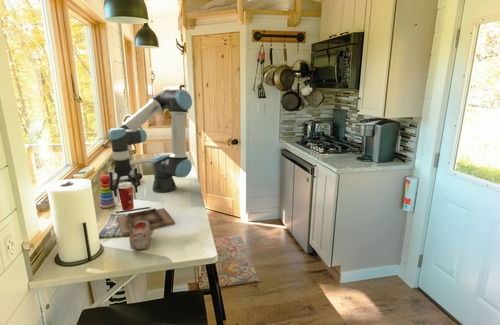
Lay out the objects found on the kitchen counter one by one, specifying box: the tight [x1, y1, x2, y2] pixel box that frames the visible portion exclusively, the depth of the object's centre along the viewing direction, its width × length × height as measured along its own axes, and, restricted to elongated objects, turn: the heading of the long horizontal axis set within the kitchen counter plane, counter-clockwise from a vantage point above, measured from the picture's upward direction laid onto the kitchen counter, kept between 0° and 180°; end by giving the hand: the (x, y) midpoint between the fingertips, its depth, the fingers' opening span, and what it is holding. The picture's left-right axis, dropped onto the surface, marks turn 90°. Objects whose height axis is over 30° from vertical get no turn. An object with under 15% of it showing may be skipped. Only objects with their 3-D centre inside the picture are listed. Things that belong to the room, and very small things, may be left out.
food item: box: [128, 220, 152, 251], centre depth 129 cm, size 14×8×10 cm, turn 15°
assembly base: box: [116, 207, 176, 237], centre depth 151 cm, size 24×20×4 cm
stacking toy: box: [99, 174, 116, 209], centre depth 171 cm, size 8×8×19 cm
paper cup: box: [117, 181, 135, 212], centre depth 159 cm, size 8×8×14 cm
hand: (127, 200), depth 159 cm, fingers closed on paper cup, 8 cm apart
